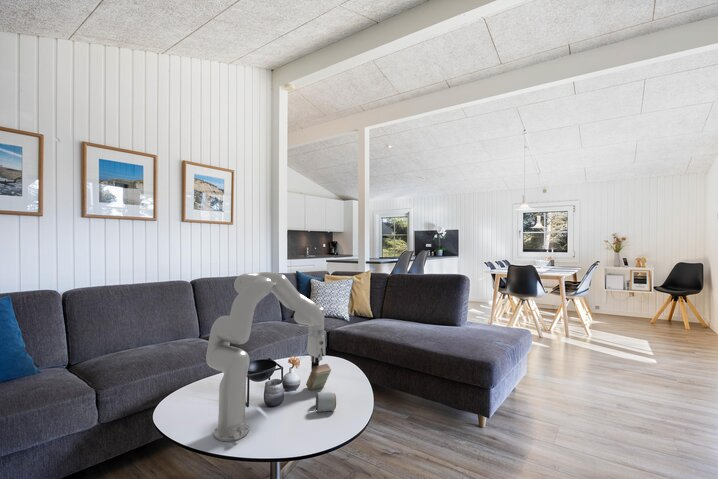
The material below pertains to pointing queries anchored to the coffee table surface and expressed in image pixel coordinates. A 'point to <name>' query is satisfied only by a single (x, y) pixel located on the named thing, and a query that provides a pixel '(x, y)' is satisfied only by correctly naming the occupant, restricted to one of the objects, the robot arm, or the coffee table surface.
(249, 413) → the coffee table surface
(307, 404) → the coffee table surface
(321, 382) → the slab
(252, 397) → the coffee table surface
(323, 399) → the ceramic mug
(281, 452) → the coffee table surface
